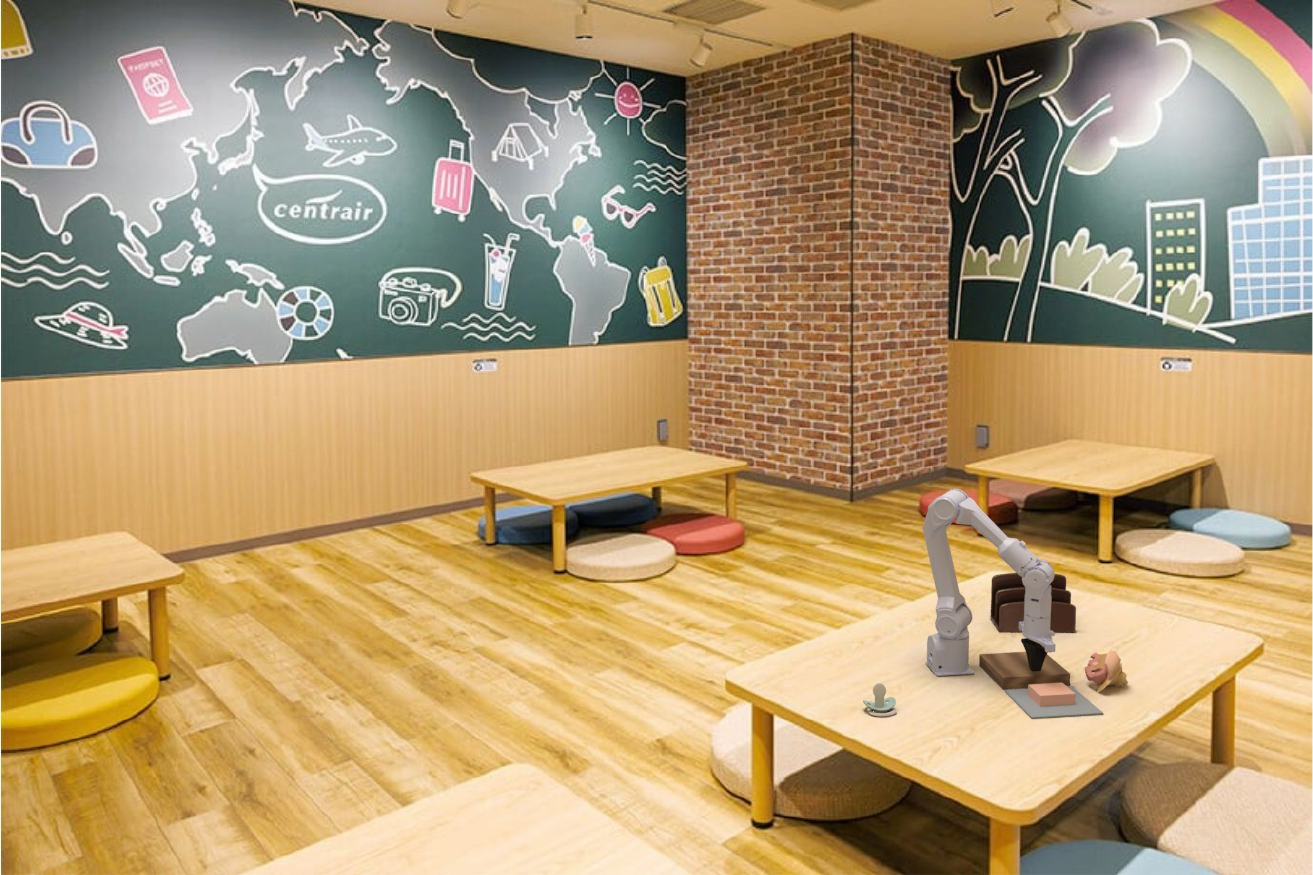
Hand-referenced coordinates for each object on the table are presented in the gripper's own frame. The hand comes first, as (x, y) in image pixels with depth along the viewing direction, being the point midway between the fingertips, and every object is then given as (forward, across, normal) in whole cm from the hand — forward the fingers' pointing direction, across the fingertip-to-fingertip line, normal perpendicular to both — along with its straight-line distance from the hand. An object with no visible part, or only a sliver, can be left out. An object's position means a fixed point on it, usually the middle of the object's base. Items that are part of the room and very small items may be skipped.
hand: (1035, 670), depth 227 cm
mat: (+4, -9, 0) cm, 10 cm away
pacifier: (+4, -8, +39) cm, 40 cm away
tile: (+1, -8, 0) cm, 8 cm away
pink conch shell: (+4, -3, -15) cm, 16 cm away
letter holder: (+4, +37, -16) cm, 40 cm away
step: (+4, +6, 0) cm, 7 cm away
